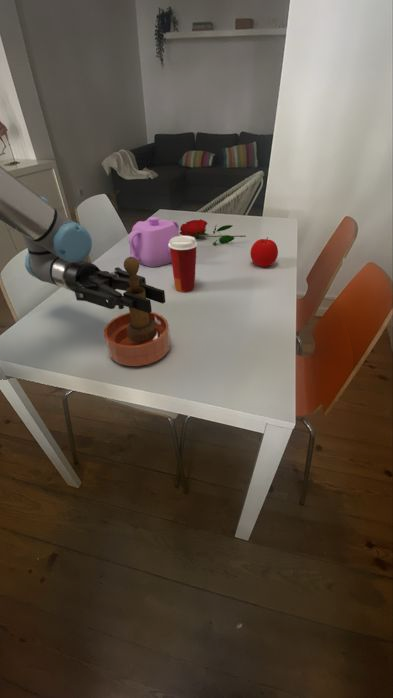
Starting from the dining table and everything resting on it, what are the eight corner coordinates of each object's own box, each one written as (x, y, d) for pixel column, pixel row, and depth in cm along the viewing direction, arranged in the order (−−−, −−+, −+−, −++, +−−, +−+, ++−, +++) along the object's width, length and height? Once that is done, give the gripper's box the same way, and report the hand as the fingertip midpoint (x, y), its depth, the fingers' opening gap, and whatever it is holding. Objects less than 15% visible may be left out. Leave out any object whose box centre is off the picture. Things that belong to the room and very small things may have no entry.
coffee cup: (201, 283, 100) (201, 236, 91) (192, 295, 94) (191, 246, 85) (177, 280, 103) (174, 233, 93) (167, 292, 97) (162, 243, 87)
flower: (248, 215, 119) (181, 213, 132) (240, 234, 116) (171, 230, 129) (252, 234, 126) (188, 230, 140) (244, 252, 123) (179, 246, 136)
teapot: (138, 248, 126) (133, 210, 118) (190, 248, 125) (189, 210, 116) (126, 268, 111) (119, 226, 103) (185, 268, 110) (183, 226, 101)
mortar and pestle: (132, 325, 75) (120, 251, 64) (159, 326, 74) (151, 252, 63) (124, 342, 70) (108, 264, 59) (152, 344, 69) (142, 265, 58)
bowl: (101, 368, 69) (95, 346, 66) (117, 331, 81) (113, 310, 77) (166, 369, 69) (163, 347, 65) (173, 332, 80) (171, 311, 76)
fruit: (249, 269, 108) (251, 240, 102) (249, 259, 115) (252, 231, 109) (276, 270, 107) (280, 241, 101) (275, 260, 114) (279, 232, 108)
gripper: (107, 277, 82) (181, 300, 71) (52, 306, 71) (131, 338, 60) (101, 248, 77) (180, 269, 67) (41, 274, 66) (125, 303, 56)
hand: (156, 301), depth 64 cm, fingers closed on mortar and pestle, 4 cm apart
